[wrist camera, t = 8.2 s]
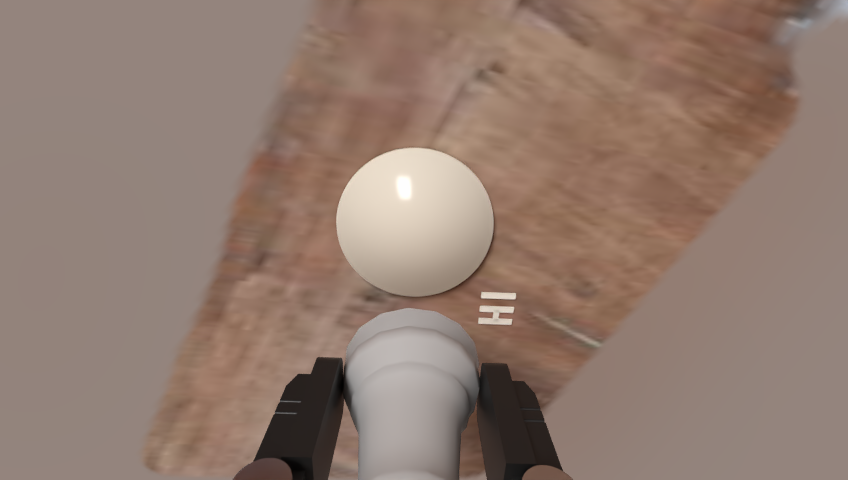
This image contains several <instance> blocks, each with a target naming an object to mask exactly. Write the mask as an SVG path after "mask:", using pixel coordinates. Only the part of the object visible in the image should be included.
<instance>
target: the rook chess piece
mask: <svg viewBox="0 0 848 480" xmlns="http://www.w3.org/2000/svg"><path fill="white" fill-rule="evenodd" d="M478 367H479V360H478V356H477V352H476V347H475V343H474V341H473V340H472V339H471V338H470V336H469V335H468V334H467V333H466V332H465V330H464V329H463V328H462V327H461V326H460V324H458V323H457V322H455V321H453V320H451V319H449V318H447V317H445V316H443V315H441V314H439V313H437V312H435V311H427V310H420V309H412V308H406V309H401V310H396V311H392V312H387V313H382V314H380V315H379V316H377V317H375V318H374V319H372V320H371V321H369V322H368V323H366V324H365V325H363V326H362V327H360V328H359V330H358V331H357V333H356V334H355V336H354V337H353V339H352V340H351V342H350V343H349V345H348V346H347V352H346V362H345V366H344V374H343V389H342V390H343V397H344V399H345V402H346V404H347V406H348V409H349V411H350V415H351V417H352V420H353V422H354V425H355V427H356V429H357V432H358V434H359V456H358V480H459V463H460V444H461V433H462V432H463V431H464V430H465V428H466V427H467V423H468V419H469V416H470V415H471V414H472V413H473V412H474V408H475V404H476V401H477V397H478V393H479V389H480V377H479V373H478Z"/></svg>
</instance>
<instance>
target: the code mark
mask: <svg viewBox="0 0 848 480" xmlns="http://www.w3.org/2000/svg"><path fill="white" fill-rule="evenodd" d="M481 298H488V299H515V298H516V293H495V292H482V293H481ZM480 312H493V318H479V320H478V324H499V325H512V319H500V318H499V312H500V313H513V312H514V307H503V306H480Z"/></svg>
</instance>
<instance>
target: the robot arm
mask: <svg viewBox="0 0 848 480" xmlns="http://www.w3.org/2000/svg"><path fill="white" fill-rule="evenodd" d="M342 389H343V361H342V358H328V357H318V358H317V359H316V362H315V364H314V367H313V370H312V372H311V374H298V375H297V376H296V377H295V378H294V379H293V380H292V381H291V382H290V383H289V384H288V385H287V386H286V387H285V390H284V392H283V394H282V397H281V399H280V403H279V404H278V406H277V408H276V411H275V414H274V415H273V417H272V420H271V422H270V424H269V427H268V429H267V431H266V434H265V436H264V438H263V441H262V443H261V445H260V448H259V450H258V452H257V454H256V457H255V459H254V461H253V462H252V463H250V464H248V465H246V466H245V467H244V468H242V469H241V470H240V471H239V472H238V473H237V474H236V475H235V477H234V478H233V480H328V476H329V472H330V467H331V463H332V459H333V454H334V450H335V446H336V441H337V437H338V432H339V428H340V424H341V419H342V414H343V406H344V397H343V390H342ZM477 421H478V428H479V434H480V440H481V446H482V452H483V458H484V464H485V470H486V477H487V480H573V479H572V478H571V477H570V476H569V475H567V474H566V473H565V472H563V470H562V467H561V465H560V462H559V459H558V456H557V454H556V451H555V448H554V445H553V442H552V440H551V437H550V434H549V431H548V428H547V426H546V423H545V422H544V418H543V415H542V412H541V411H540V406H539V403H538V401H537V398H536V395H535V393H534V392H533V391H532V390H531V389H530V388H529V386H528V385H527V384H526V383H525V382H524V381H512V379H511V376H510V372H509V369H508V366H507V364H501V363H482V366H481V374H480V389H479V393H478V398H477Z"/></svg>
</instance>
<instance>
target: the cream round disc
mask: <svg viewBox="0 0 848 480" xmlns="http://www.w3.org/2000/svg"><path fill="white" fill-rule="evenodd" d="M336 226H337V235H338V239H339V243H340V246H341V248H342V251H343V253H344V255H345V257H346V258H347V260H348V262H349V263H350V264H351V266H352V267H353V268H354V270H355V271H356V272H357V273H358V274H359V275H360V276H361V277H363V278H364V279H365V280H366V281H368V282H369V283H371V284H372V285H374V286H376V287H378V288H380V289H382V290H384V291H387V292H390V293H393V294H397V295H402V296H411V297H418V296H429V295H434V294H438V293H441V292H444V291H447V290H449V289H451V288H453V287H455V286H457V285H459V284H460V283H461V282H463V281H464V280H466V279H467V278H468V277H469V276H470V275H471V274H472V273H473V272H474V271H475V270H476V269H477V268H478V267H479V265H480V264H481V262H482V261H483V259H484V258H485V256H486V254H487V252H488V250H489V247H490V244H491V241H492V235H493V226H494V219H493V210H492V206H491V202H490V199H489V197H488V194H487V192H486V190H485V189H484V187H483V185H482V183H481V181H480V180H479V179H478V178H477V176H476V175H475V174H474V173H473V172H472V171H471V170H470V169H469V168H468V167H467V166H466V165H465V164H464V163H462V162H461V161H460V160H458V159H456V158H454V157H453V156H451V155H449V154H446V153H444V152H441V151H438V150H434V149H430V148H423V147H406V148H399V149H395V150H391V151H388V152H385V153H383V154H381V155H379V156H377V157H375V158H373V159H372V160H370V161H369V162H367V163H366V164H365V165H364V166H362V167H361V168H360V169H359V170H358V171H357V172H356V173H355V175H354V176H353V177H352V179H351V180H350V181H349V183H348V184H347V186H346V188H345V190H344V192H343V194H342V196H341V199H340V202H339V205H338V210H337V220H336Z"/></svg>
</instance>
